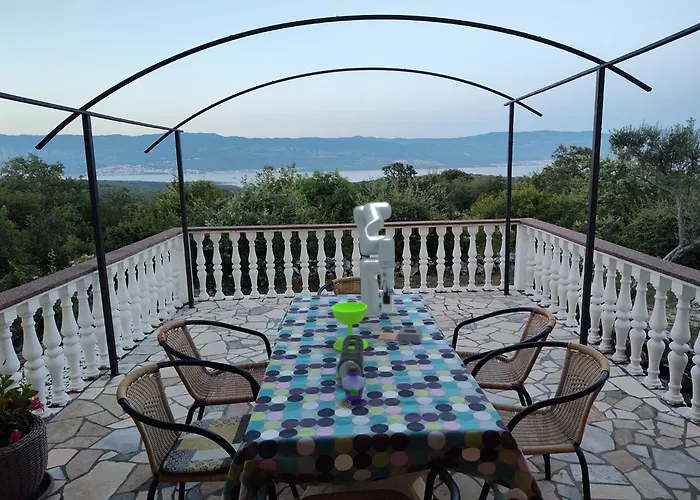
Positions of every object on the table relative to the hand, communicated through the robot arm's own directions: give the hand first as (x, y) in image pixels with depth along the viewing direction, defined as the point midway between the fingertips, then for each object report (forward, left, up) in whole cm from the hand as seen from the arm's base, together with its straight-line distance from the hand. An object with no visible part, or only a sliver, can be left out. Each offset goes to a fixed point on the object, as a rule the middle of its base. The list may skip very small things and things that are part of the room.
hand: (387, 302), depth 222 cm
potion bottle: (0, -64, -17) cm, 66 cm away
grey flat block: (+10, 0, -17) cm, 20 cm away
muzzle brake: (-7, -41, -17) cm, 45 cm away
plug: (0, 0, -4) cm, 4 cm away
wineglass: (-15, -14, -17) cm, 26 cm away
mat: (0, 0, -17) cm, 17 cm away
